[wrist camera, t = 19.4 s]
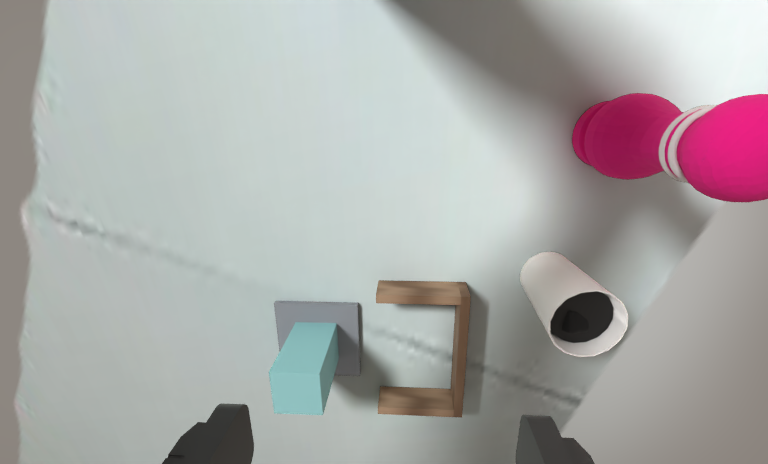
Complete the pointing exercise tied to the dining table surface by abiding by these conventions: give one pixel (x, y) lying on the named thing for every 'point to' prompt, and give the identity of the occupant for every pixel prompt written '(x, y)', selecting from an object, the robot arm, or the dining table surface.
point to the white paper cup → (573, 305)
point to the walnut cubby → (452, 399)
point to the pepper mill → (680, 143)
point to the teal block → (305, 369)
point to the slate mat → (325, 313)
